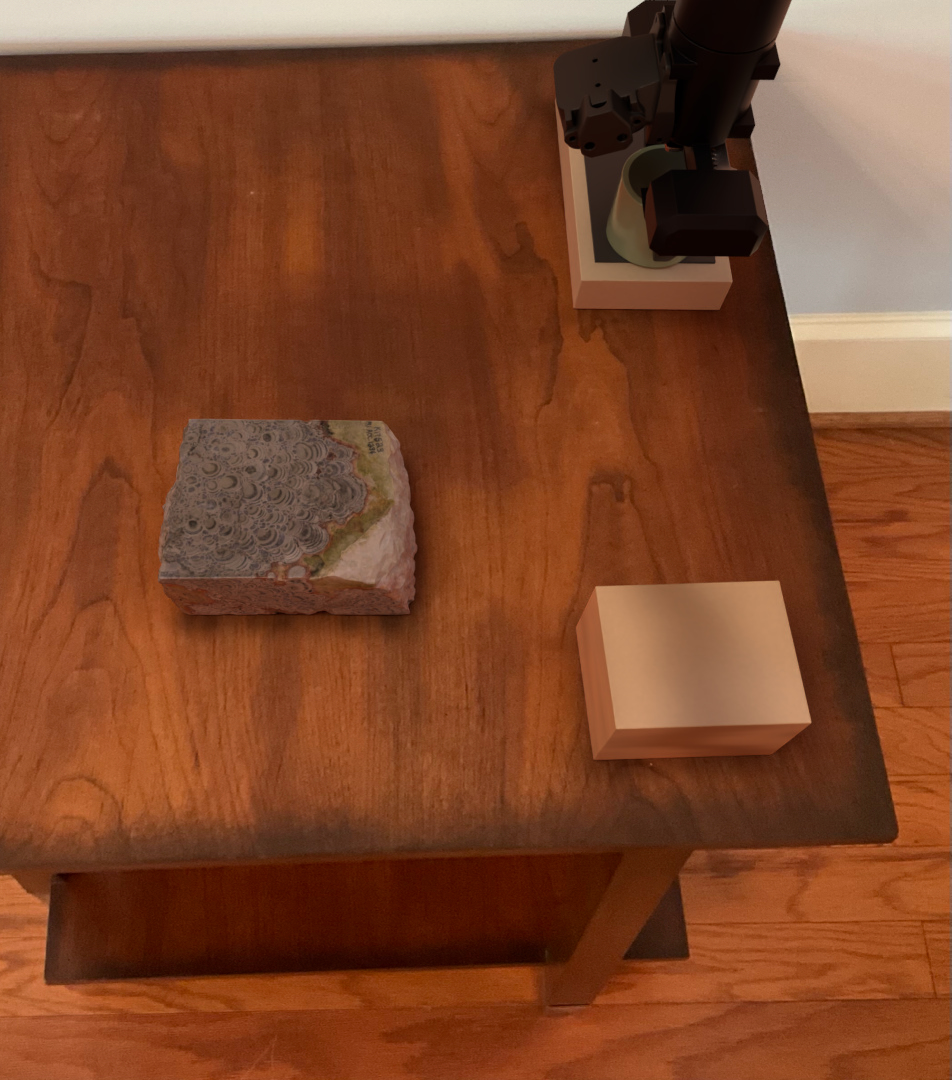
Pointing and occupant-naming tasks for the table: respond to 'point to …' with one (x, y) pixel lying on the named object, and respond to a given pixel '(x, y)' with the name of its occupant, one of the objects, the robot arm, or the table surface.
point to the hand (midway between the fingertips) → (655, 222)
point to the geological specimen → (288, 519)
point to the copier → (601, 268)
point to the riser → (689, 670)
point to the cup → (638, 204)
